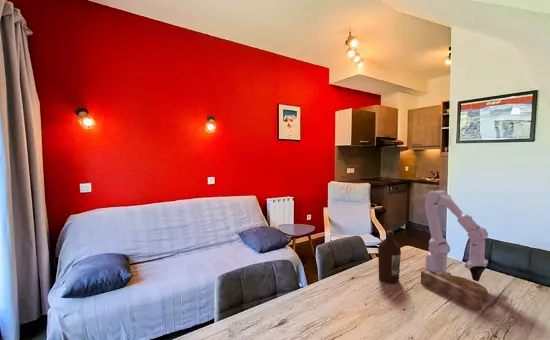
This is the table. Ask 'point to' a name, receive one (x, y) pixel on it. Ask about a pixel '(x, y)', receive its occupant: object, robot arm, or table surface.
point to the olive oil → (389, 259)
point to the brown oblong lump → (465, 284)
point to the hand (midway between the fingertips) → (475, 280)
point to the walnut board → (452, 290)
